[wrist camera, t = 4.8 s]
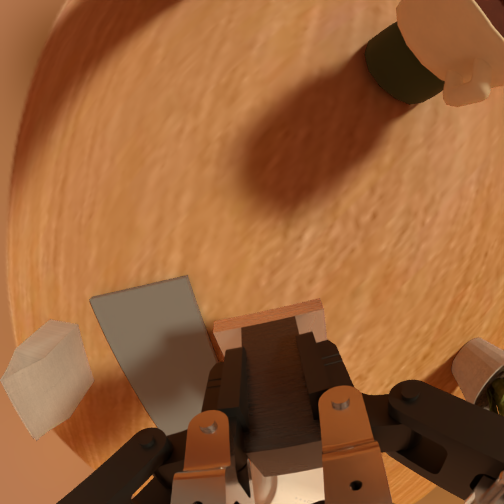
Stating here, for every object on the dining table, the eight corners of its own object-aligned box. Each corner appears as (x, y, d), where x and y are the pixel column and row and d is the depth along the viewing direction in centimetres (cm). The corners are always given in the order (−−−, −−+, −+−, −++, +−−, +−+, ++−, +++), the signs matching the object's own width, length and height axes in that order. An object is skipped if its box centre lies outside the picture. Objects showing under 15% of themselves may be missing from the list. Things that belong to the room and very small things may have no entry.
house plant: (426, 428, 26) (474, 519, 11) (391, 377, 24) (463, 509, 8) (507, 357, 24) (575, 426, 8) (494, 284, 21) (603, 360, 6)
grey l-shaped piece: (214, 321, 13) (204, 456, 7) (319, 298, 13) (365, 428, 7) (265, 431, 19) (272, 510, 13) (331, 418, 19) (349, 496, 13)
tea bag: (78, 324, 23) (16, 387, 13) (94, 380, 24) (51, 447, 15) (50, 319, 23) (-12, 374, 13) (67, 373, 24) (21, 433, 15)
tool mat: (92, 296, 22) (89, 299, 21) (187, 275, 21) (185, 277, 21) (169, 439, 26) (168, 442, 26) (248, 433, 26) (248, 437, 25)
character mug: (419, 147, 18) (555, 142, 6) (339, 105, 18) (445, 31, 5) (441, 45, 16) (539, -4, 3) (371, 4, 15) (444, -84, 3)
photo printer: (350, 417, 25) (382, 513, 13) (324, 440, 26) (345, 533, 14) (268, 387, 24) (275, 508, 12) (243, 413, 25) (239, 525, 13)
